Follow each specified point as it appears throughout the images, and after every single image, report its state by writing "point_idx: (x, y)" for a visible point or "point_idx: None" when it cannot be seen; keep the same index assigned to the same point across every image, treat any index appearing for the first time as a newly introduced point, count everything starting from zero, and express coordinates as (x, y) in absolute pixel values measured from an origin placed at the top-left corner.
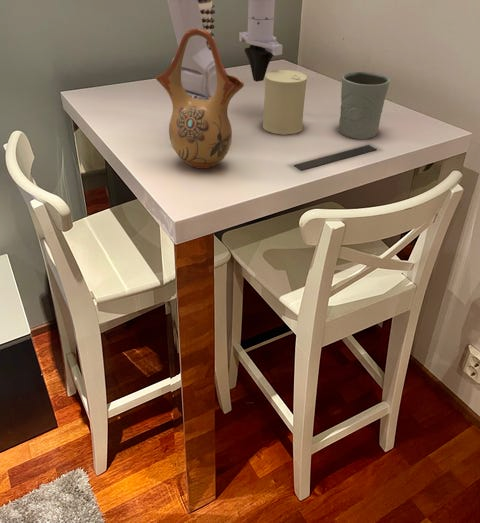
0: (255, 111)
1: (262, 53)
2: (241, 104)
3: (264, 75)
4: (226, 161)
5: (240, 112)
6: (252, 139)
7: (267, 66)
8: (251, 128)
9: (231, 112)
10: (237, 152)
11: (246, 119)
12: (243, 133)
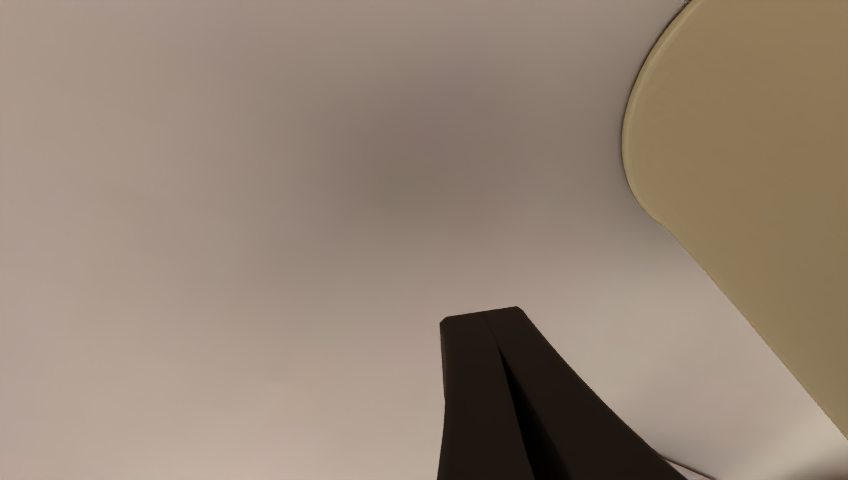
0: (374, 144)
1: None
2: (155, 183)
3: (549, 350)
4: (832, 464)
5: (348, 255)
6: None
7: (649, 449)
8: (643, 289)
9: (323, 307)
10: (810, 420)
11: (496, 265)
12: (670, 346)
